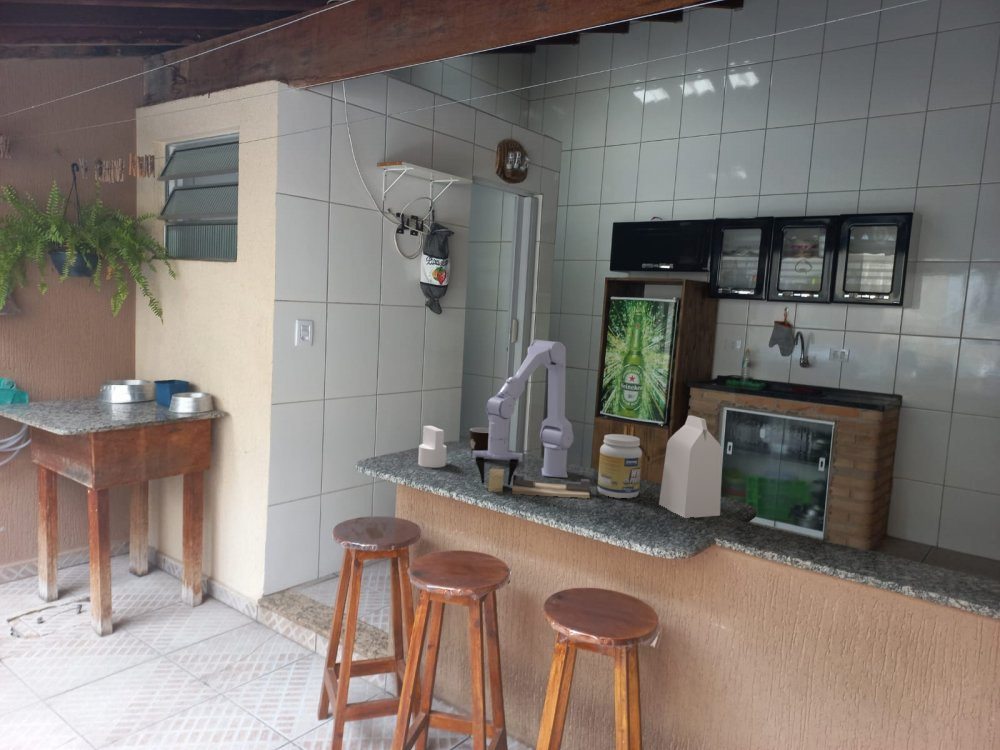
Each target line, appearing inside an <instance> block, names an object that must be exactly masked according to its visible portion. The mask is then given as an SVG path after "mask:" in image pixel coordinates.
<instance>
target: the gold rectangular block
mask: <svg viewBox="0 0 1000 750" xmlns="http://www.w3.org/2000/svg"><path fill="white" fill-rule="evenodd" d="M504 471H505V469H503V468H502V469H501V468H490V469H489V473H488V492H492V491H502V492H503V489H504V488H503V487H504V474H505V473H504Z"/></svg>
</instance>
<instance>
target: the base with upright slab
mask: <svg viewBox="0 0 1000 750" xmlns="http://www.w3.org/2000/svg"><path fill="white" fill-rule="evenodd" d="M444 438H445V430H443V429H441V428H438V427H436V426H433V425H423V428H422V443H421V444H419V445H418V466H420V467H425V468H430V469H431V468H433V469H434V468H443V467H445V466H446V465H447V448H448V447H447V445H445V444H444V442H445V441H444Z"/></svg>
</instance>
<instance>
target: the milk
mask: <svg viewBox="0 0 1000 750" xmlns="http://www.w3.org/2000/svg"><path fill="white" fill-rule="evenodd" d="M722 462H723V449H722V446H721V444H720V443H719V441H717V440H716V438H715V437H714V436H713V435H712V433H710V431H709V430H708V426H707V422H706V418H702V417H698V416H696V415H687V418H686V420H685V423H684V425H682V427H680V428H679V429H678V430H677V431H675V432H674V434H673V435H672V436H671V437H669V439H668V440H667V443H666V449H665V458H664V465H663V472H662V478H661V487H660V496H659V501H658V502H659V503H658V505H659V506H660V505H661V507H662V506H663V507H662V508H664V507H665V508H664V509H666V508H667V509H666V510H668V511H670V512H672V513H674V514H675V513H676V514H675V515H677V514H678V515H677V516H679V515H680V517H681V516H682V517H681V518H683V517H684V518H683V519H691V518H690V517H694V518H702V517H705V518H706V517H716V516H718V517H719V516H721V497H722V469H723V468H722V467H723V465H722V464H723V463H722Z"/></svg>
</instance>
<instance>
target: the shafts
mask: <svg viewBox="0 0 1000 750" xmlns="http://www.w3.org/2000/svg"><path fill="white" fill-rule="evenodd" d="M536 481H537V480H536V479H534V478H527V477H525V474H524V473H513V476H512V486H513V485H516V486H524V487H530V488H534V487H535V483H536ZM590 483H591V482H590V478H581V479H580V482H579V481H567V480H566V482H565V484H566V490H575V491H588V492H589V493H590V487H591V485H590Z"/></svg>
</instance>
